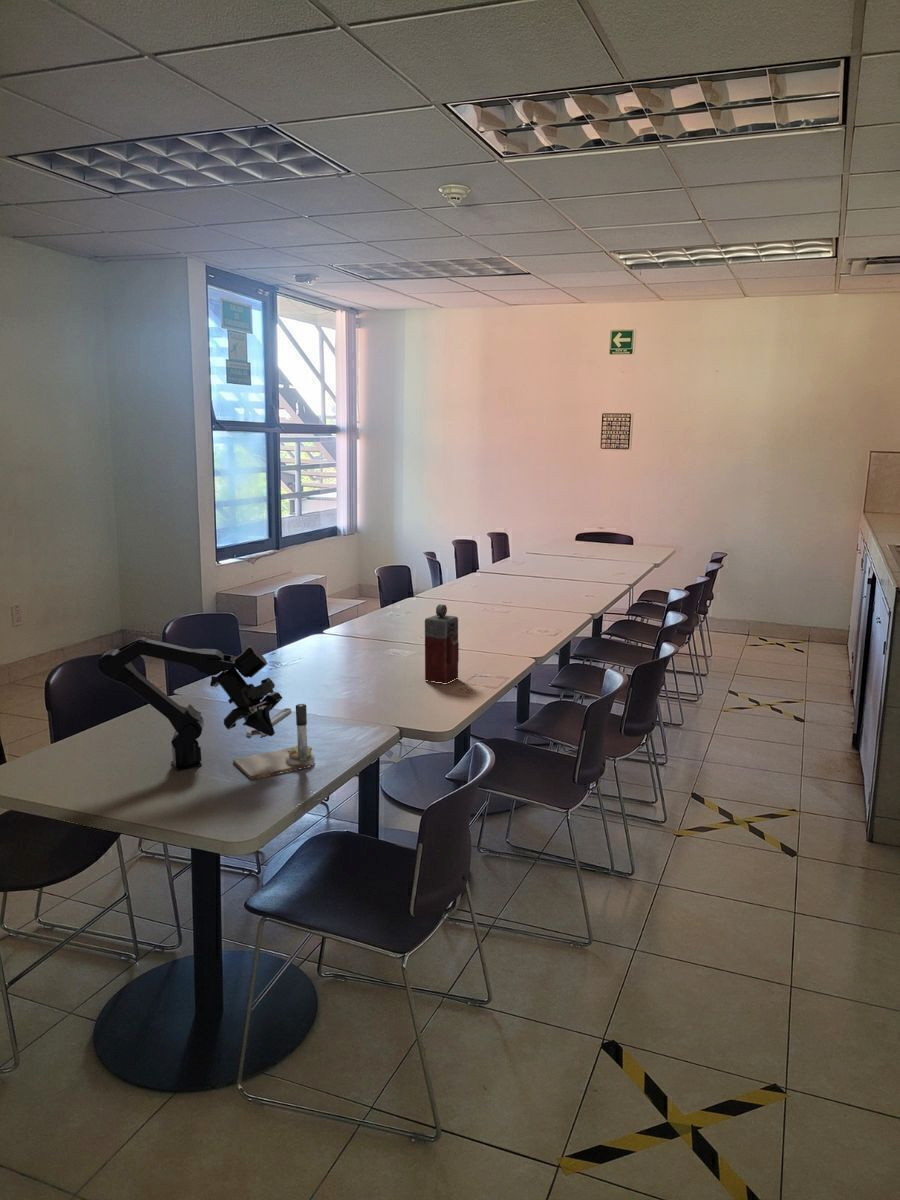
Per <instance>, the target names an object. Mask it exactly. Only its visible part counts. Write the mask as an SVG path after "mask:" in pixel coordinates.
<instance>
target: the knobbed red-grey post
mask: <svg viewBox="0 0 900 1200" xmlns="http://www.w3.org/2000/svg"><path fill="white" fill-rule="evenodd" d="M447 611H448V607H447V605H446V604H440V603H439V604H437V606H436V608H435V615H432V616H429V617H426V618H425V619H424V681H425V680H428V681H435V682H442V683H448V682H450V681H452V680H454V679H456V678H458V679H459V658H460V657H459V655H460V654H459V653H460V651H459V650H460V649H459V644H460V643H459V617H457V616H454V615H447V613H448V612H447Z"/></svg>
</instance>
